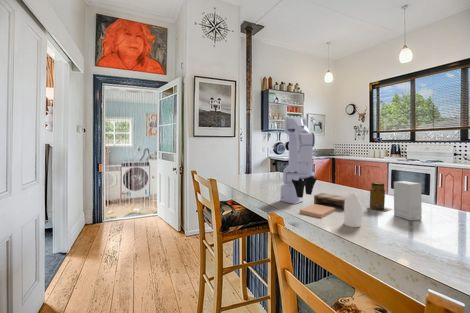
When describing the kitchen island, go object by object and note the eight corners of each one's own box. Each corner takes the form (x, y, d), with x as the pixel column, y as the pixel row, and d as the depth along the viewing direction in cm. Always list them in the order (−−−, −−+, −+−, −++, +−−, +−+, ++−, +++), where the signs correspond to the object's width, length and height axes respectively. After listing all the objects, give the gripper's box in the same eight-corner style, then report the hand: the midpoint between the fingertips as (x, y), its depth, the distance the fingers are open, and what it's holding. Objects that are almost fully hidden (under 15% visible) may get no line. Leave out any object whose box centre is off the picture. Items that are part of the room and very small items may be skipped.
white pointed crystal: (343, 194, 92) (346, 191, 96) (342, 225, 92) (345, 221, 97) (361, 195, 88) (363, 193, 93) (360, 228, 89) (362, 224, 94)
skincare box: (421, 220, 98) (423, 183, 97) (408, 221, 97) (410, 184, 96) (404, 214, 106) (406, 180, 106) (392, 214, 106) (393, 180, 105)
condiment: (372, 205, 121) (373, 181, 120) (391, 209, 114) (392, 183, 114) (365, 208, 116) (366, 183, 115) (385, 212, 110) (386, 185, 109)
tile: (299, 214, 108) (299, 209, 108) (314, 208, 118) (314, 203, 118) (321, 219, 101) (321, 214, 101) (335, 212, 111) (335, 207, 111)
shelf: (314, 204, 123) (314, 195, 123) (321, 201, 129) (321, 192, 128) (344, 210, 113) (344, 200, 112) (350, 206, 118) (351, 197, 118)
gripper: (305, 164, 91) (304, 200, 92) (322, 162, 102) (321, 194, 102) (288, 163, 96) (288, 197, 97) (306, 161, 106) (306, 192, 107)
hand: (304, 195), depth 100 cm, fingers open, 7 cm apart
